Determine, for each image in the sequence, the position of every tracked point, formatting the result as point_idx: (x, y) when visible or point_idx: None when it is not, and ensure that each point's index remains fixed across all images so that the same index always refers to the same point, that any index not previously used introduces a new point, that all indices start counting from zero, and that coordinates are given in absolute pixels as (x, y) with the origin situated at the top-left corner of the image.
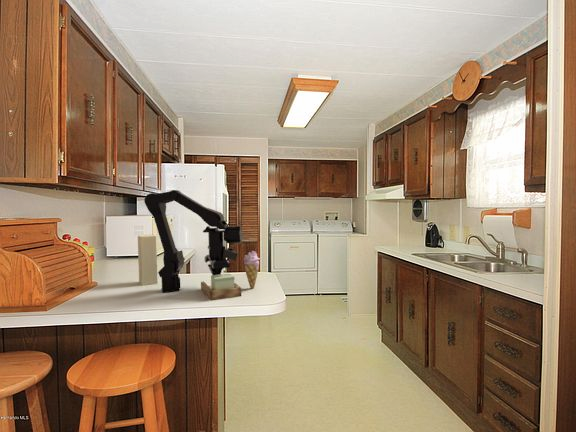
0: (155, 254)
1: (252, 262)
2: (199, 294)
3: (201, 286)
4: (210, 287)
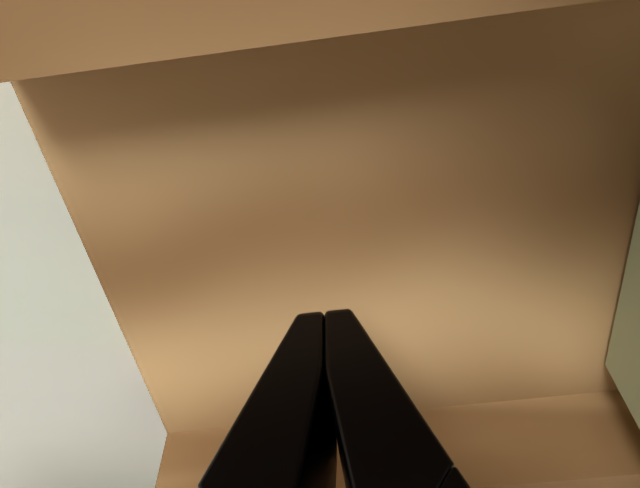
0: None
1: None
2: None
3: None
4: None
